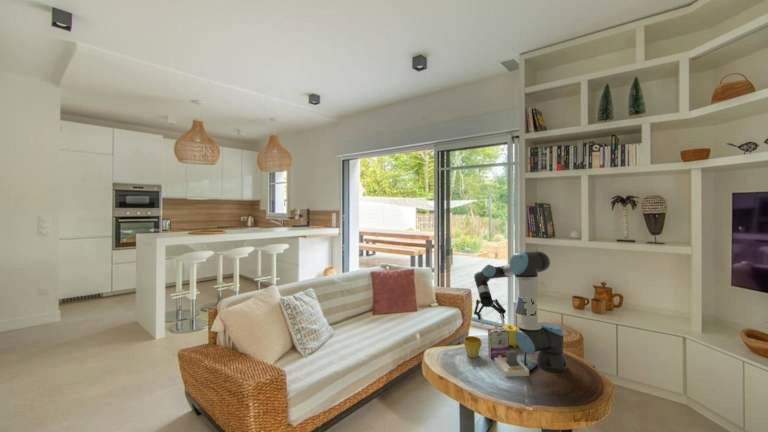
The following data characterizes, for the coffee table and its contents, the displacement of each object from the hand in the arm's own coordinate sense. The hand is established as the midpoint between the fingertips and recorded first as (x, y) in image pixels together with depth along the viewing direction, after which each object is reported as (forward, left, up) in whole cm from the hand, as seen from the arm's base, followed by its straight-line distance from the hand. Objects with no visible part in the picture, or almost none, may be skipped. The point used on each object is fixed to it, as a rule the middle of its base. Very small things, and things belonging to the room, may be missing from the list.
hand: (493, 324), depth 204 cm
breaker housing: (-1, +24, -16) cm, 29 cm away
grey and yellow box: (-13, -8, -17) cm, 23 cm away
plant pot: (+15, +6, -17) cm, 23 cm away
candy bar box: (0, +9, -17) cm, 19 cm away
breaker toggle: (-1, +25, -13) cm, 28 cm away
